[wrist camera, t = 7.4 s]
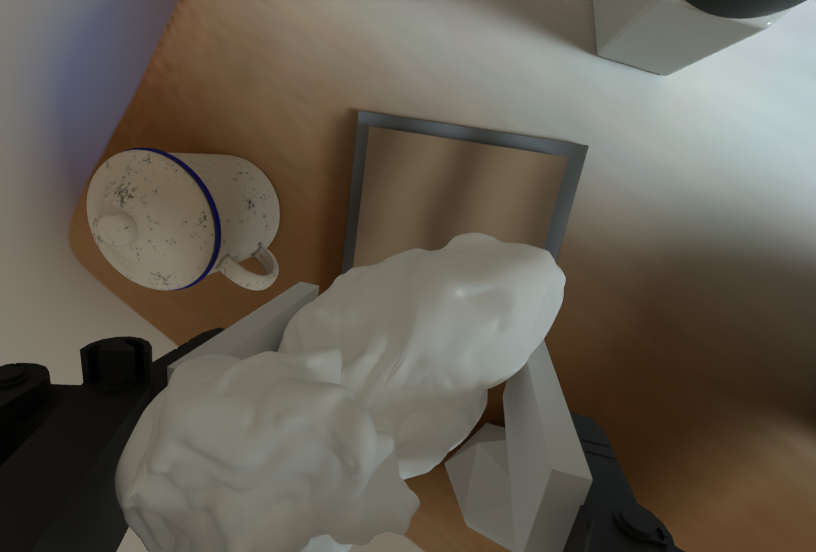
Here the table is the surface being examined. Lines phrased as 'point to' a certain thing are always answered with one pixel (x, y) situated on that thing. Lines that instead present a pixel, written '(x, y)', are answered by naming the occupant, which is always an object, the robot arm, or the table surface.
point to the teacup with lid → (183, 218)
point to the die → (484, 484)
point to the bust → (337, 405)
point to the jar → (678, 29)
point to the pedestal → (454, 187)
